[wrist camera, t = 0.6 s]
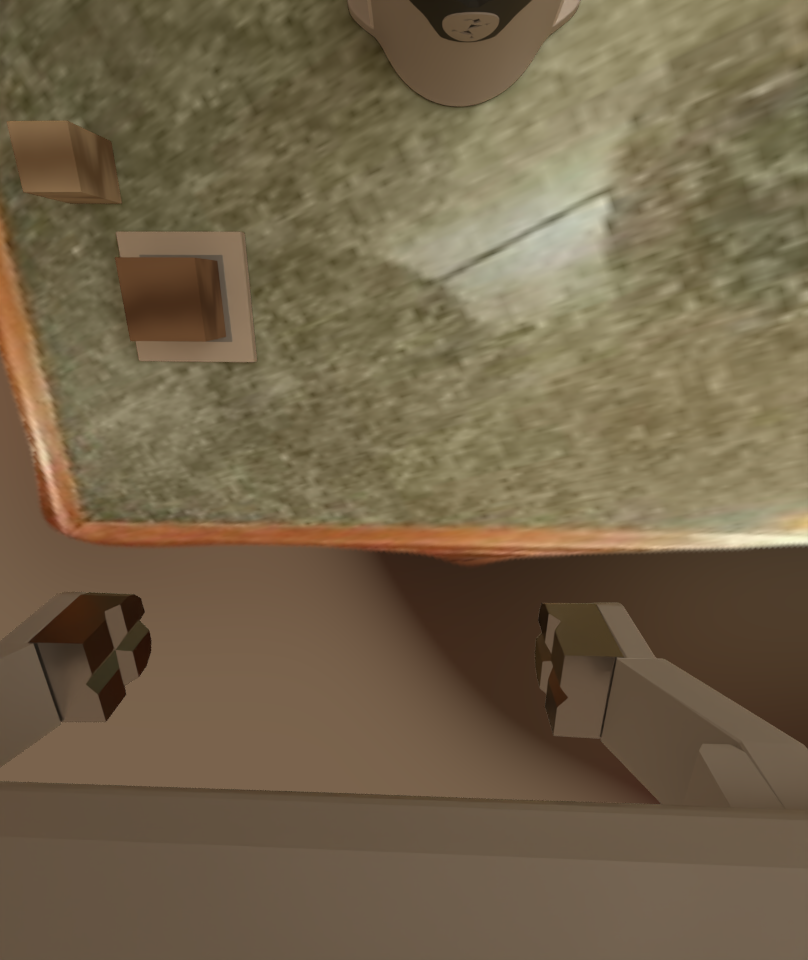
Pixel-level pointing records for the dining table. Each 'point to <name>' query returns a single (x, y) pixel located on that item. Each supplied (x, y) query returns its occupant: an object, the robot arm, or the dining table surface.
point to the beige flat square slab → (232, 283)
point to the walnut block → (171, 298)
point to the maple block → (64, 162)
